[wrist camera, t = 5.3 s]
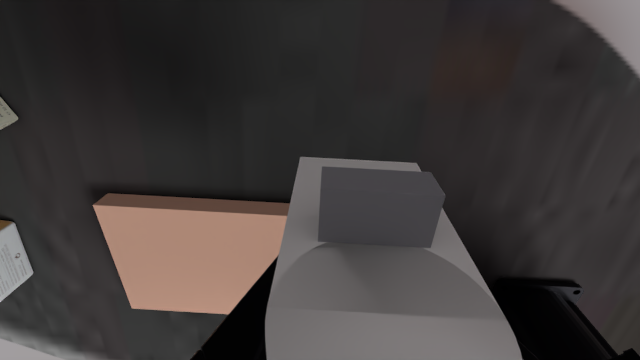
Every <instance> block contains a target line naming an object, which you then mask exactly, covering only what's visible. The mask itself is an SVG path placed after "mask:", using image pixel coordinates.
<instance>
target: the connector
mask: <svg viewBox="0 0 640 360" xmlns="http://www.w3.org/2000/svg"><path fill="white" fill-rule="evenodd" d="M444 199H445V194H444V192H443V191H442V189H441V188H440V186H439V184H438V183H437V181H436V180H435V178H434V177H433V175H432V173H431V172H421V170H420V168H419V167H418V165H417V163H405V162H387V161H368V160H350V159H331V158H313V157H300V161H299V166H298V170H297V175H296V179H295V184H294V188H293V193H292V197H291V202H290V206H289V211H288V215H287V220H286V224H285V229H284V233H283V238H282V242H281V247H280V251H279V256H278V260H277V265H276V269H275V274H274V278H273V282H272V287H271V291H270V296H269V300H268V305H267V311H266V318H265V342H266V356H267V360H522V355H521V351H520V348H519V346H518V343H517V340H516V337H515V335H514V333H513V331H512V329H511V327H510V325H509V323H508V321H507V319H506V318H505V316H504V314H503V312H502V311H501V309H500V307H499V305H498V304H497V302H496V300H495V298H494V297H493V295H492V293H491V292H490V290H489V288H488V286H487V285H486V283H485V281H484V279H483V278H482V276H481V274H480V272H479V271H478V269H477V267H476V266H475V264H474V262H473V260H472V259H471V257H470V255H469V253H468V252H467V250H466V248H465V246H464V245H463V243H462V241H461V240H460V238H459V236H458V234H457V233H456V231H455V229H454V227H453V226H452V224H451V222H450V220H449V219H448V217H447V215H446V214H445V212H444V210H443V208H442V206H443V203H444Z"/></svg>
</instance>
